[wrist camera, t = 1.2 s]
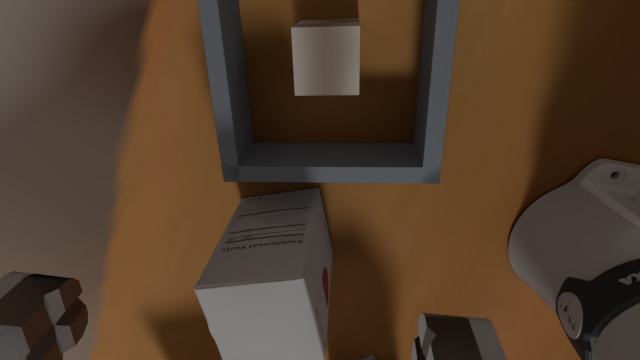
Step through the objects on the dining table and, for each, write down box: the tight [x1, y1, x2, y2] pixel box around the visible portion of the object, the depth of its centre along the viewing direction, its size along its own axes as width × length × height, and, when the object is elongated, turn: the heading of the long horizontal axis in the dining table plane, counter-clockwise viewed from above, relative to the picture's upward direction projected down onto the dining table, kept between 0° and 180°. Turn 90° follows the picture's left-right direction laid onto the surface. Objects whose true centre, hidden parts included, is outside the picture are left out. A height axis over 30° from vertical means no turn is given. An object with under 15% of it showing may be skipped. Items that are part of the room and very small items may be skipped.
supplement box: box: [194, 188, 333, 360], centre depth 39 cm, size 9×9×15 cm
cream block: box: [291, 18, 360, 96], centre depth 33 cm, size 5×5×7 cm
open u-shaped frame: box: [197, 0, 459, 183], centre depth 35 cm, size 19×18×6 cm
